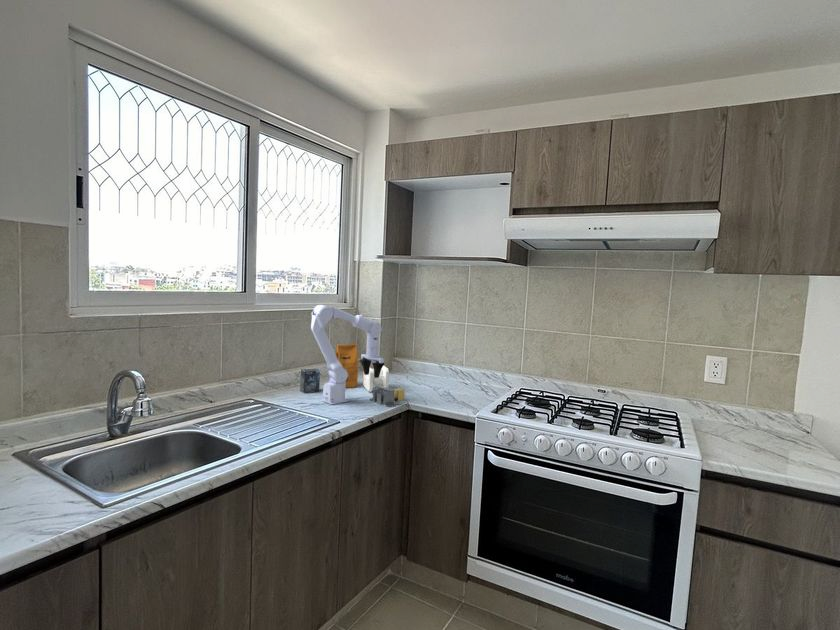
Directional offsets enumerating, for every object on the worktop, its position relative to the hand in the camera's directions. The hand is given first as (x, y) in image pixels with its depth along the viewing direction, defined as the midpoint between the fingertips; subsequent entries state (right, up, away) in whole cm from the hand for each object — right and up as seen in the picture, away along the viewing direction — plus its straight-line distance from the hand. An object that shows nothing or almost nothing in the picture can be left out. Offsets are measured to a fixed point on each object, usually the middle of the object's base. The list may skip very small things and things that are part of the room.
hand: (371, 376), depth 209 cm
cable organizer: (0, -10, +18) cm, 20 cm away
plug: (+9, -11, -4) cm, 15 cm away
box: (-31, -9, +8) cm, 33 cm away
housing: (+6, -11, -7) cm, 14 cm away
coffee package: (-16, -8, +21) cm, 28 cm away
